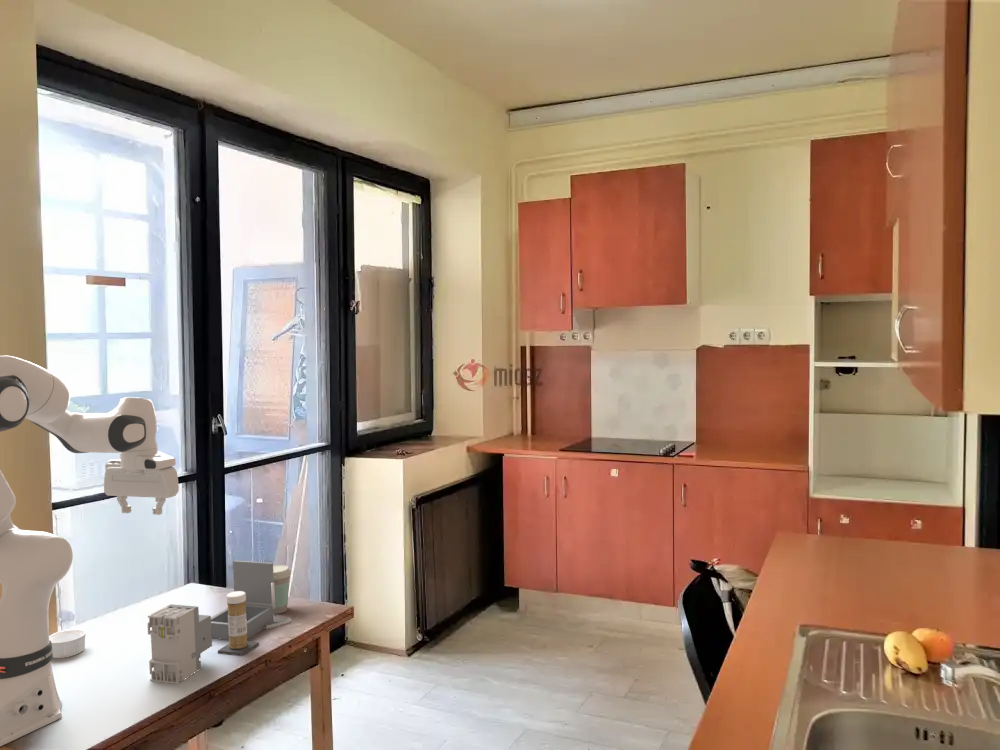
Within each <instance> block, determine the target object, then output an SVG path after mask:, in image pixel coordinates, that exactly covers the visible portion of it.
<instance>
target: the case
mask: <svg viewBox="0 0 1000 750" xmlns="http://www.w3.org/2000/svg"><path fill="white" fill-rule="evenodd" d="M273 565H274V563H273V562H263V561H248V560H235V559H234V560H233V561H232V572H233V573H232V574H233V592H235V591H243V592H245V593H246V602H245V604H246V620H248V621H247V640H248V639H249V637H250V638H251V637H253V636H255V633H256V634H257V633H258V631H259V632H260V631H262V630H263V629H265V628H264V627H265V625H266V624H270V623H273V622H275V621H274V614H273V609H275V590H274V575H273ZM211 624H212V627H211V635H212V639H216V638H221V639H220V640H226V639H228V641H229V629H228V607H227V608H225V609H223V610H221V611H220V612H218V613H217V614H215V615H213V616H211ZM261 629H262V630H261ZM252 635H253V636H252Z"/></svg>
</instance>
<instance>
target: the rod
mask: <svg viewBox="0 0 1000 750" xmlns="http://www.w3.org/2000/svg"><path fill="white" fill-rule="evenodd" d="M291 622H292V620H291V618H289V617H288V618H284V619H281V620H276V621H274V622H272V623H270V624H266V625H265V628H266V629H265V628H264V629H265V630H269V629H272V628H276V627H279V626H283V625H286V624H289V623H291Z"/></svg>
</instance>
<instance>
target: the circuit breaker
mask: <svg viewBox="0 0 1000 750" xmlns="http://www.w3.org/2000/svg"><path fill="white" fill-rule="evenodd" d="M199 612H200V611H199V606H197V605H196V606H195V605H183V604H171V603H170V604H169V605H166V606H165V607H162V608H160V609H159V610H157V611H154V612H153V613H151V614H149V615H147V618H148V619H149V620H148V622H147V635H148V636H149V635H150V644H151V646H150V647H151V659H149V663H148V664H149V675H150V677H151V678H150V680H149V681H151V682H156V683H157V682H158V683H166V684H173V683H177V684H176V685H179V684H180V682H183V681H182V680H184V679H185V678H187V677H188V676H190V675H191V674H192V673H194V672H196V671H197V670H199V669H200V668H201V669H202V662H201V660H200V659H201V658H202V657H201V654H202V653H203V652H205V651H206V650H208V649H210V648H212V647H213V641H212V640H213V638H212V635H211V627H212V624H211V617H212V616H211V615H208V614H200V613H199ZM201 669H200V670H201ZM200 670H199V671H200ZM197 672H198V671H197ZM197 672H196V673H197ZM194 674H195V673H194ZM191 676H192V675H191ZM191 676H190V677H191ZM188 678H189V677H188ZM188 678H187V679H188ZM185 680H186V679H185ZM185 680H184V681H185ZM179 681H180V682H179ZM178 683H179V684H178Z"/></svg>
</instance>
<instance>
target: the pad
mask: <svg viewBox="0 0 1000 750" xmlns="http://www.w3.org/2000/svg"><path fill="white" fill-rule="evenodd" d="M247 642H248V645H247V646H246V647H244V648H241V649H231V648H230V647H229V643H227V644H226V645H224V646H222V648H220V649H218V650H217V653H218V654H222V653H227V654H226V655H232V654H235V655H234V656H242V655H243V656H245V655H246V654H248V653H249V652H250V651H251V649H252V650H254V649H255V648H256V647H257V646H259V644H260V642H259V641H250V640H247ZM254 647H255V648H254ZM245 653H246V654H245Z"/></svg>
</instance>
